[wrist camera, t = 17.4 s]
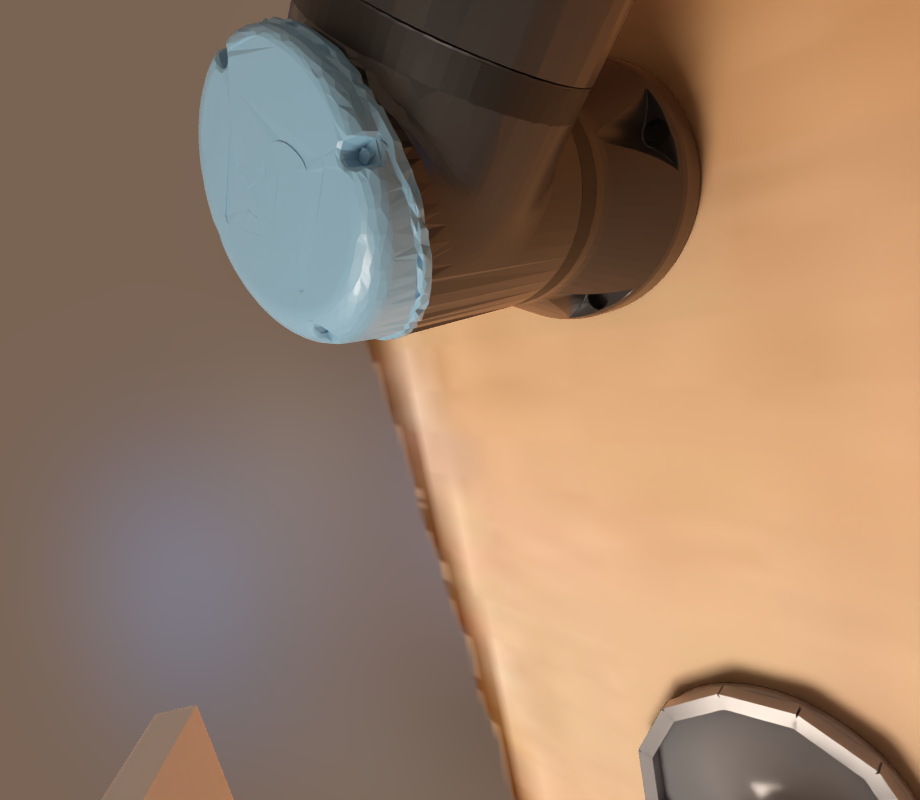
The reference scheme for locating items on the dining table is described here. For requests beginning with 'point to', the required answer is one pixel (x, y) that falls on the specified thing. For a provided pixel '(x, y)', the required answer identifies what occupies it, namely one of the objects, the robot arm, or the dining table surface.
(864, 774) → the saucer plate
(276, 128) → the robot arm
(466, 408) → the dining table surface
